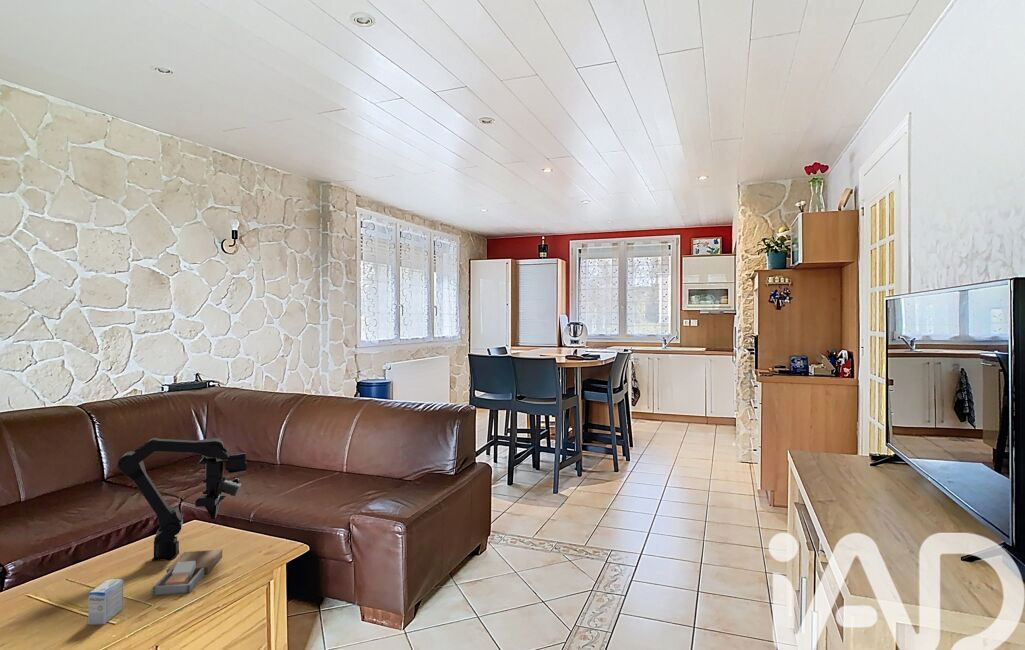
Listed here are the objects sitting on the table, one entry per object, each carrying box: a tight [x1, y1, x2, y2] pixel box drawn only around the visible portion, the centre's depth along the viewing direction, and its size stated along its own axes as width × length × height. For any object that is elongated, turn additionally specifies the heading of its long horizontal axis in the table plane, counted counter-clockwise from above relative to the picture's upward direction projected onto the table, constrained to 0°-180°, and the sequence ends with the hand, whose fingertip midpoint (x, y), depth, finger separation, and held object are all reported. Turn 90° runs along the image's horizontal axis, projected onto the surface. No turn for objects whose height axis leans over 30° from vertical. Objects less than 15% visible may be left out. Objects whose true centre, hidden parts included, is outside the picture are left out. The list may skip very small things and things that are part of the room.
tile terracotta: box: [165, 574, 189, 585], centre depth 169 cm, size 5×5×2 cm
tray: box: [152, 568, 205, 596], centre depth 171 cm, size 10×12×2 cm
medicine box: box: [87, 578, 124, 626], centre depth 152 cm, size 8×4×9 cm, turn 5°
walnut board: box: [166, 549, 223, 576], centre depth 184 cm, size 12×14×2 cm
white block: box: [172, 561, 196, 578], centre depth 174 cm, size 5×5×2 cm
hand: (213, 518), depth 198 cm, fingers closed
